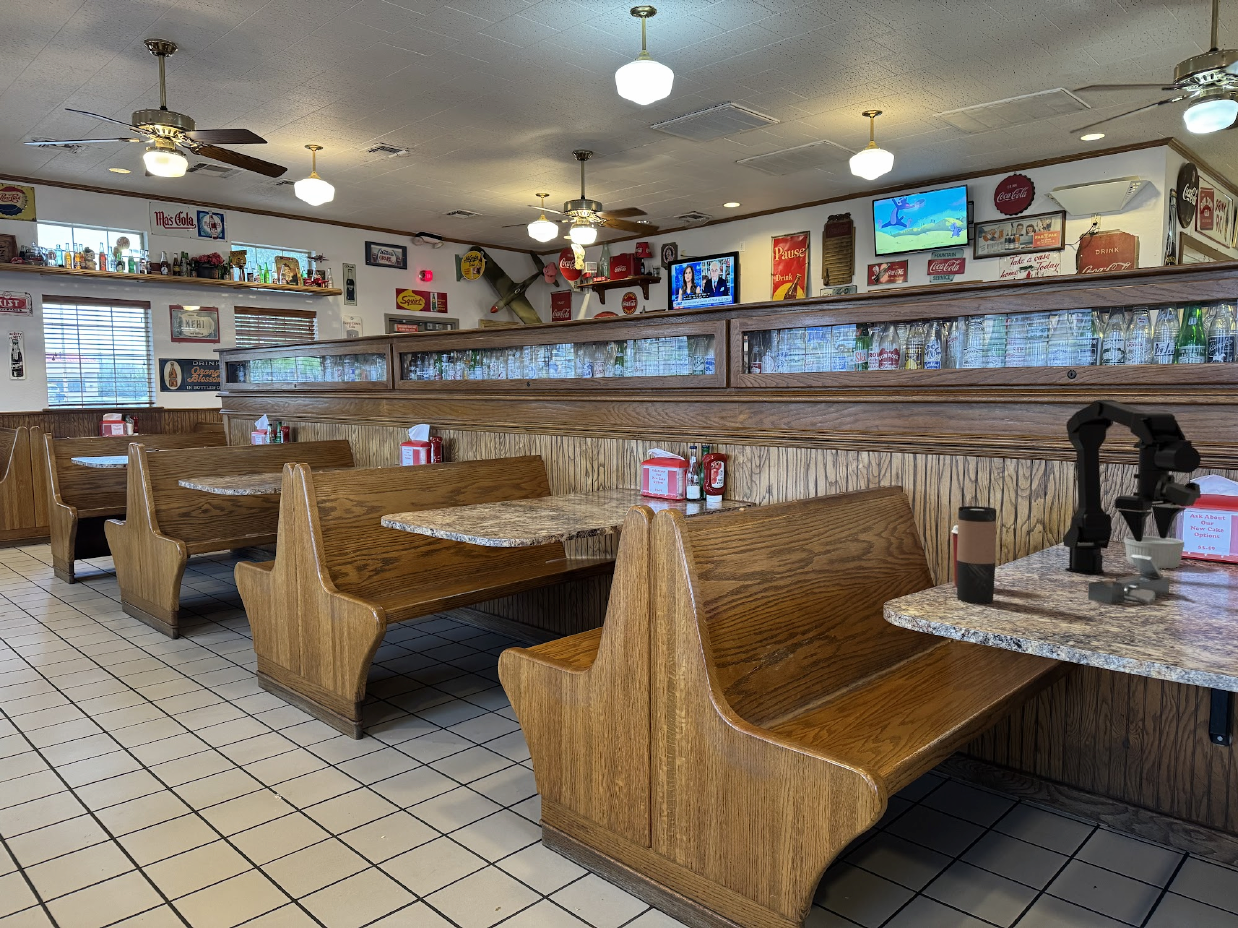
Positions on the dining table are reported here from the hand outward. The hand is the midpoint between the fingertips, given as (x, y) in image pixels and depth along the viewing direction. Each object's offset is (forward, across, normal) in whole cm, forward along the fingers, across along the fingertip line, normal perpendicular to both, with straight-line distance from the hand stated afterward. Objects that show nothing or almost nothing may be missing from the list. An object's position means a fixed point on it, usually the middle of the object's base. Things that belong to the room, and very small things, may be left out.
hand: (1151, 539), depth 180 cm
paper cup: (+12, -30, +24) cm, 40 cm away
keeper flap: (+8, +1, 0) cm, 8 cm away
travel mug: (+12, -40, +14) cm, 44 cm away
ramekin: (+12, +34, +19) cm, 41 cm away
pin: (+12, -10, -1) cm, 16 cm away
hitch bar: (+12, -7, 0) cm, 14 cm away
